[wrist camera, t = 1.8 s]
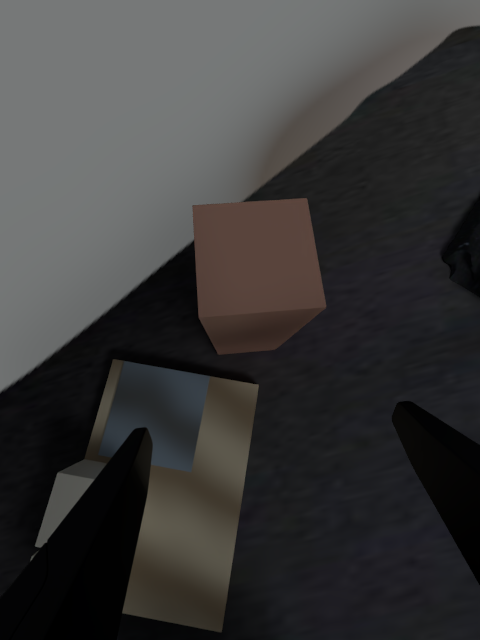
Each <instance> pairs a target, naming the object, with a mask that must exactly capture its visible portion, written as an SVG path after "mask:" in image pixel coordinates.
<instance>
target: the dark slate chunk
mask: <svg viewBox="0 0 480 640" xmlns="http://www.w3.org/2000/svg"><path fill="white" fill-rule="evenodd" d="M443 259H444V261H445V263H446V264H450V265H451V266H452V267H451V270H452V271H451V276H450V280H451V281H453V282H455V283H457V284H460V285H462V286H463V287H465V288H466V289H468V290H469V291H471V292H472V293H474V294H476V295H477V296H479V297H480V198H479V201H478V202H477V203H476V204H475V206H474V208H473V209H472V211H471V212H470V213H469V215H468V217H467V219H466V221H465V222H464V223H463V225H462V227H461V229H460V231H459V232H458V233H457V235H456V237H455V239H454V240H453V241H452V242H451V243H450V245H449V247H448V249H447V251H446V252H445V254H444V255H443Z"/></svg>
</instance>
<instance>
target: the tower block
mask: <svg viewBox="0 0 480 640" xmlns="http://www.w3.org/2000/svg"><path fill="white" fill-rule="evenodd" d="M193 223H194V242H195V260H196V278H197V296H198V314H199V319H200V321H201V323H202V325H203V327H204V329H205V331H206V332H207V334H208V336H209V338H210V340H211V342H212V344H213V346H214V348H215V349H216V351H217V353H218V355H221V354H232V353H243V352H255V351H266V350H275V349H276V348H278V347H279V346H280V345H281V344H283V343H284V342H285V341H286V340H287V339H289V338H290V337H291V336H292V335H293V334H295V333H296V332H297V331H298V330H299V329H301V328H302V327H303V326H304V325H305V324H307V323H308V322H309V321H310V320H312V319H313V318H314V317H315V316H316V315H318V314H319V313H320V312H321V311H322V310H324V309H325V308H326V302H325V297H324V291H323V286H322V280H321V274H320V269H319V263H318V257H317V252H316V246H315V241H314V235H313V229H312V224H311V218H310V212H309V207H308V201H307V198H303V199H287V200H271V201H255V202H239V203H224V204H207V205H193Z"/></svg>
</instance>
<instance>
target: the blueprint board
mask: <svg viewBox="0 0 480 640" xmlns="http://www.w3.org/2000/svg"><path fill="white" fill-rule="evenodd" d="M258 387H259V385H256V384H251V383H245V382H239V381H234V380H228V379H223V378H217V377H211V376H206V375H200V374H195V373H189V372H183V371H178V370H172V369H166V368H161V367H155V366H150V365H144V364H138V363H133V362H127V361H121V360H116V359H113V362H112V365H111V369H110V372H109V376H108V379H107V383H106V386H105V390H104V393H103V396H102V400H101V403H100V407H99V410H98V414H97V417H96V421H95V424H94V427H93V431H92V434H91V438H90V441H89V445H88V448H87V452H86V455H85V459H86V460H92V461H97V462H103V463H108V462H109V460H110V459H111V458H112V456H113V455H114V454H115V453H116V451H117V450H118V449H119V448H120V446H121V445H122V444H123V442H124V441H125V440H126V439H127V437H128V436H129V435H130V433H131V432H132V431H133V430H134V429H135V428H141V427H146V428H148V430H149V433H150V436H151V439H152V442H153V450H152V459H151V468H150V478H149V487H148V494H147V500H146V505H145V509H144V514H143V519H142V523H141V528H140V533H139V537H138V542H137V546H136V551H135V556H134V560H133V565H132V570H131V574H130V579H129V584H128V588H127V593H126V598H125V602H124V607H123V612H122V613H124V614H129V615H135V616H140V617H145V618H150V619H155V620H160V621H165V622H170V623H176V624H181V625H186V626H191V627H196V628H201V629H206V630H211V631H216V632H222V627H223V620H224V614H225V607H226V601H227V594H228V587H229V581H230V574H231V567H232V561H233V554H234V547H235V541H236V534H237V527H238V521H239V514H240V507H241V501H242V494H243V487H244V481H245V474H246V467H247V461H248V454H249V447H250V441H251V434H252V427H253V421H254V414H255V407H256V401H257V394H258Z"/></svg>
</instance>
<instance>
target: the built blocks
mask: <svg viewBox="0 0 480 640" xmlns="http://www.w3.org/2000/svg"><path fill="white" fill-rule="evenodd" d="M106 464H107V463H103V462H97V461H92V460H86V459H84V460H82V461H80V462H78V463H76V464H74V465H72V466H70V467H68V468H66V469H64V470H62V471H60V472H58V473H57V476H56V480H55V483H54V486H53V489H52V493H51V496H50V499H49V502H48V506H47V509H46V512H45V515H44V518H43V522H42V525H41V528H40V531H39V535H38V538H37V541H36V544H35V547H40V548H41V547H42V546H43V545H44V543H47V540H48V538H49V537H50V536H51V534H52V533H53V532H54V531H55V529H56V528H57V527H58V526H59V524H60V523H61V522H62V520H63V519H64V518H65V517H66V515H67V514H68V513H69V511H70V510H71V509H72V508H73V506H74V505H75V504H76V503H77V501H78V500H79V499H80V497H81V496H82V495H83V494H84V492H85V491H86V490H87V488H88V487H89V486H90V485H91V483H92V482H93V481H94V480H95V478H96V477H97V476H98V474H99V473H100V472H101V471H102V469H103V468H104V467H105V465H106ZM37 552H38V551H37ZM37 552H36V553H37ZM36 553H35V554H34V555H33V556H32V557H31V560H32V559H33V557H34V556H35V555H36Z"/></svg>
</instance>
